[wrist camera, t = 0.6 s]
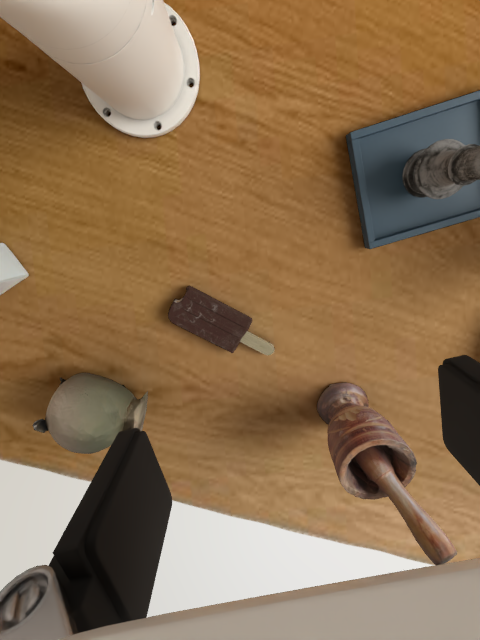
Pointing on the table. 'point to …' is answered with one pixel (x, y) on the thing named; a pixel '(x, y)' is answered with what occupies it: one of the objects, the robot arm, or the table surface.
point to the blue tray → (389, 161)
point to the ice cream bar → (215, 322)
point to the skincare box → (10, 269)
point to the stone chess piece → (442, 169)
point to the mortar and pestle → (377, 463)
